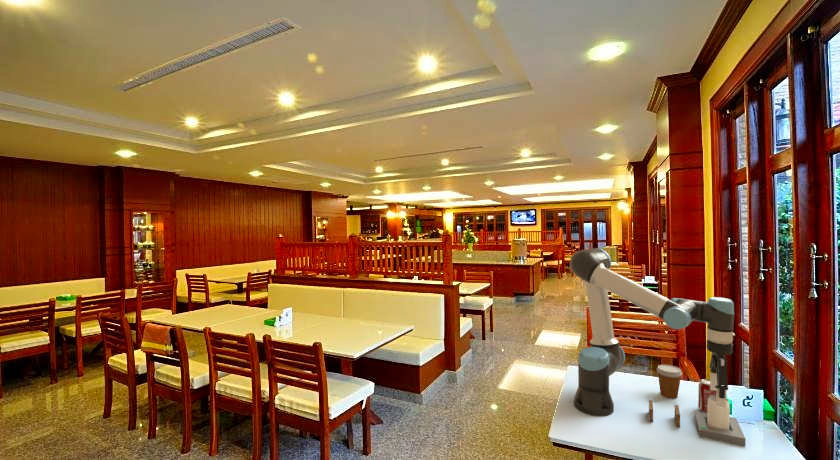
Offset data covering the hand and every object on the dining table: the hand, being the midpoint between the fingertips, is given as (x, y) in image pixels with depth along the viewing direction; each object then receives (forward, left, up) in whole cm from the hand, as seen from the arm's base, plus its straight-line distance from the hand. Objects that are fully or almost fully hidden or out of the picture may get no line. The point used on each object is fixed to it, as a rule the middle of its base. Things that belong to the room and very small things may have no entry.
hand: (717, 397), depth 147 cm
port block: (0, 0, -12) cm, 12 cm away
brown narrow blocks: (-17, 0, -12) cm, 21 cm away
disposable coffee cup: (-14, +24, -12) cm, 30 cm away
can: (0, 0, -12) cm, 12 cm away
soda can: (-1, +15, -12) cm, 19 cm away
